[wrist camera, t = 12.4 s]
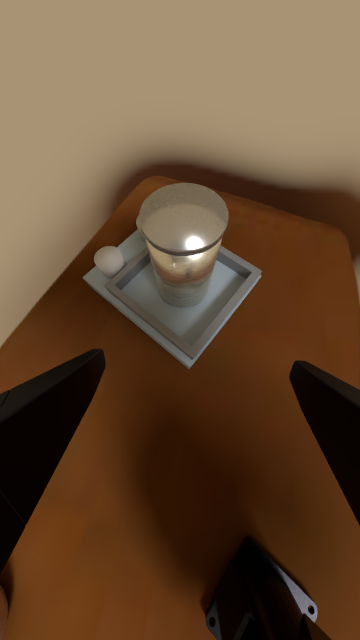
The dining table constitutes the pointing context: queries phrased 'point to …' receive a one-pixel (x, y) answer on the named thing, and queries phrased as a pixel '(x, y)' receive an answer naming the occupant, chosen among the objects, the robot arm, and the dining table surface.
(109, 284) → the square tray with knobs
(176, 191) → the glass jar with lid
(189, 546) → the dining table surface
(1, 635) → the plastic bottle
